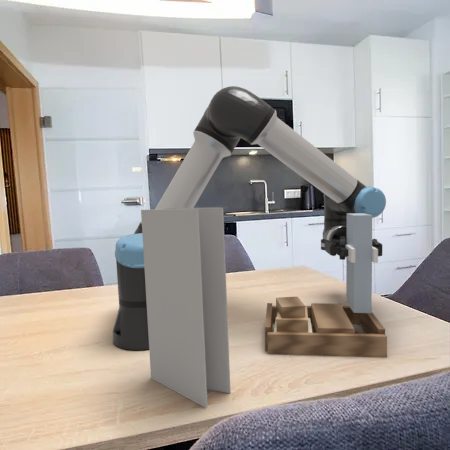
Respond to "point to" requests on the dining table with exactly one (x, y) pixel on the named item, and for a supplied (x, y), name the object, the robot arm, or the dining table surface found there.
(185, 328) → the brochure
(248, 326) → the dining table surface
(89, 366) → the dining table surface
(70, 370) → the dining table surface
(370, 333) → the tray
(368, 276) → the grey rectangular block
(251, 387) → the dining table surface
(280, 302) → the offcut top
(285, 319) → the plate
